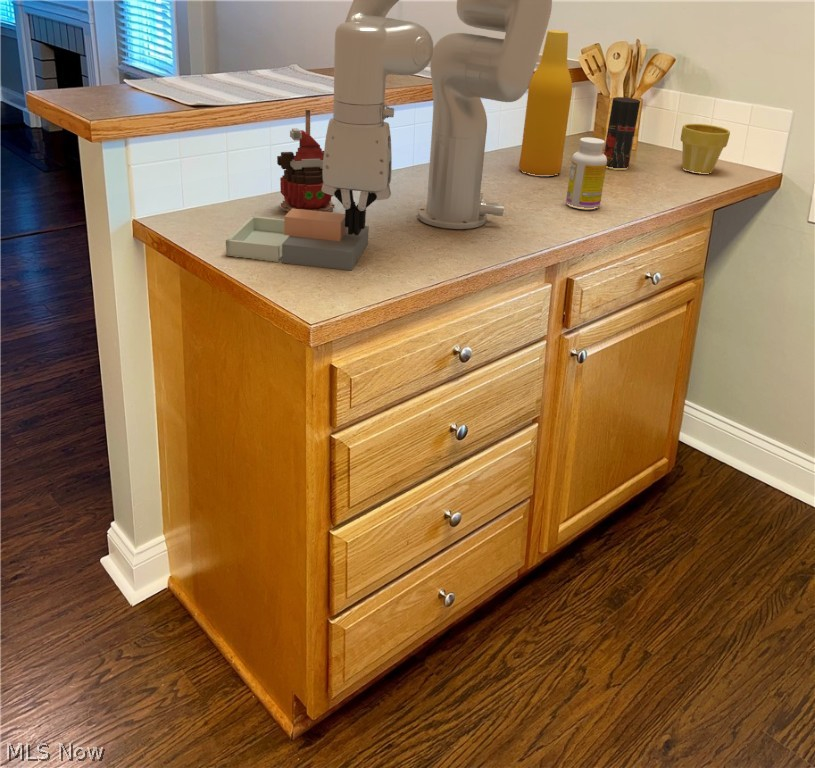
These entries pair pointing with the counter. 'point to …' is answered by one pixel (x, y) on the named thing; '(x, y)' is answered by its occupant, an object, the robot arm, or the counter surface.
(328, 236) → the tile
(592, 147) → the supplement bottle
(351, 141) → the robot arm
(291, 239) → the slate board
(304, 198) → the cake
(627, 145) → the deodorant
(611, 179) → the counter surface
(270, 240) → the sage bin
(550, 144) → the beer bottle
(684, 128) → the plant pot
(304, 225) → the tile
